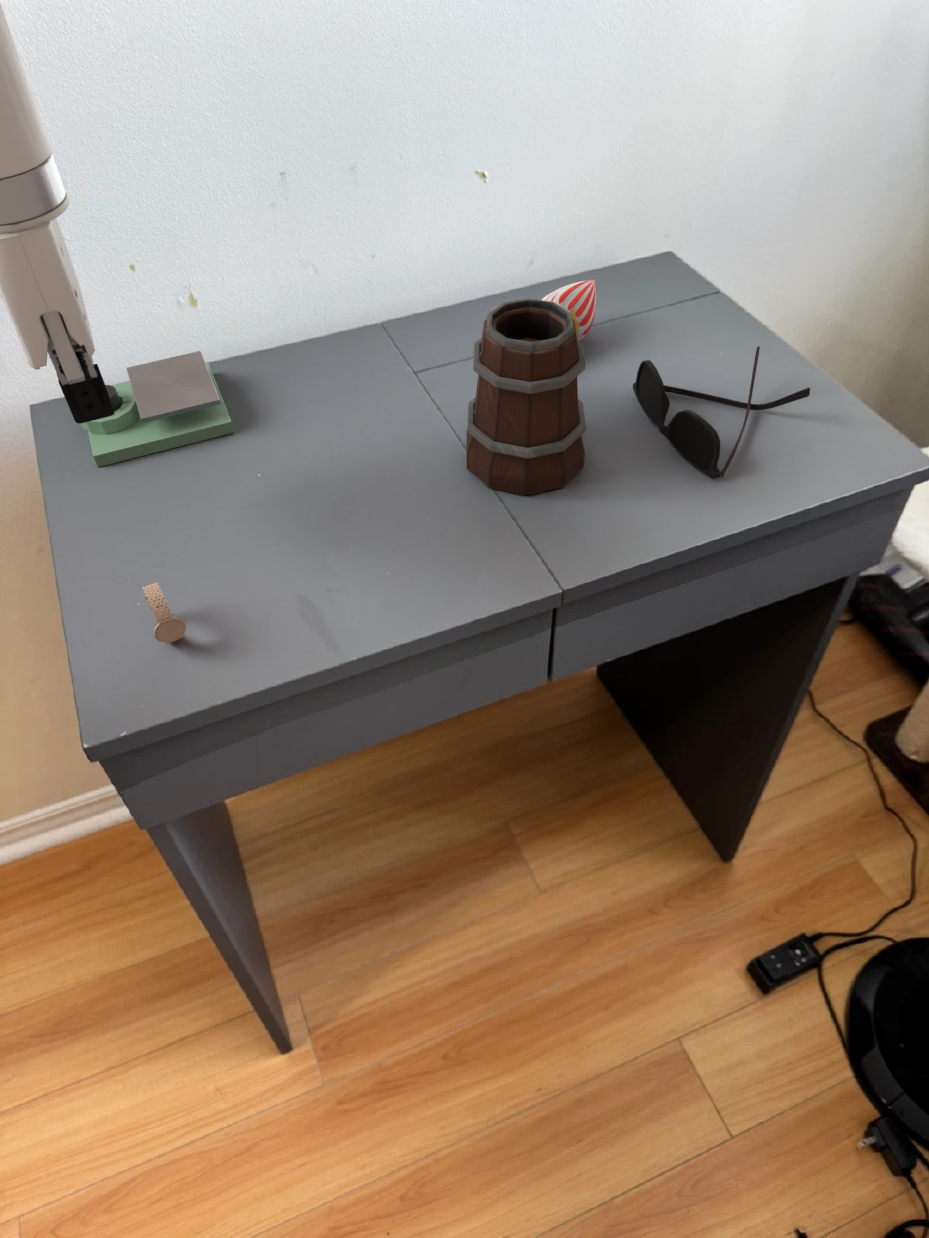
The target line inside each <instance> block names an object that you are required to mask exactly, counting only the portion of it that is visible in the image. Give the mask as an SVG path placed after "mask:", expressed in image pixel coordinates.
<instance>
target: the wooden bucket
mask: <svg viewBox="0 0 929 1238" xmlns="http://www.w3.org/2000/svg"><path fill="white" fill-rule="evenodd" d="M472 349H473V350H472V354H473V355H472V359H473V360H472V363H473V364H472V369H473V372H474V373H475V374H477V384H476V391H475V397H473V399H471V400H470V401H469V402H467V415H466V416H467V417H466V420H467V422H466V423H467V424H466V425H467V427H466V428H467V429H466V445H465V446H466V450H465V451H466V454H465V455H466V456H465V458H466V460H465V461H466V469H467V470H468V471H469V472H470V473H472V474H473V475H474V476H475V477H476V478H477V479H479V481H481V482H482V483H483V484H484V485H485V486H486V487H488V488H489V489H494V490H497V491H498V490H499V491H504V492H508V493H513V494H517V495H522V496H530V495H533V494H540V493H543V492H544V493H545V492H549V491H552V490H556V489H557V490H558V489H563V488H564V487H565V486H566V485H567V484H568V483H569V482H570V481H571V480H572V479H573V478H574V477H575V476H576V475H577V474H578V473H579V472H580V471H581V470H582V469H583V468H584V463H585V462H584V461H585V454H586V453H585V447H584V446H585V445H584V439H583V434H584V433H586V430H587V421H586V415H585V409H584V402H583V401H581V400H580V399H579V394H578V393H579V392H578V391H579V390H578V389H579V387H578V376H579V375H581V374H582V373H583V372H584V371H585V370H586V364H587V363H586V356H585V350H584V345H583V342H582V340H581V341H579V340H577V335H576V328H575V321H574V320H573V318H572V313H570V312H568V311H567V310H565V309H564V308H562V307H561V306H559V305H557V304H556V303H554V302H550V301H543V300H542V299H536V298H529V297H527V298H523V299H516V300H511V301H505V302H502V303H498V304H494V305H493V307H492V308H491V309H490V310H489V312H488V313H487V315H486V319H485V320H484V321H483V327H482V334H481V338H479V339H478V340H477V341H475V342H474V343H473V345H472Z"/></svg>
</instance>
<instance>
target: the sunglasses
mask: <svg viewBox="0 0 929 1238" xmlns="http://www.w3.org/2000/svg"><path fill="white" fill-rule="evenodd" d="M760 349H761V347H760V346H759V345H758V346H757V348H756V350H755V355H754V361H753V368H752V373H751V374H752V375H751V380H750V387H749V394H748V399H747V402H744V401H739V400H735V399H730V398H727V397H721V396H718V395H714V394H709V393H704V392H700V391H695V390H691V389H687V388H681V387H675V386H671V385H667V384H666V385H665V384H664V381H663V380H662V379H663V378H662V377H661V375H660V373H659V371H658V369H657V367H656V366H655V364H654V363H653V362H652V361H651V360H650V359H646V360H645V359H644V360H643V361H641V362H640V364H639V367H638V369H637V371H636V372H637V374H636V378H635V382H633V383H632V390H633V392H634V395H635V397H636V399H637V401H638V403H639V405H640V407H641V409H642V410H643V412H644V413H645V415H646V416H647V417H648V419H649V421H651V422H652V424H653V425H654V426H655V427H656V428H657V429H658V431H659V433H660V434H662V436H664V437H665V439H667V440H668V442H669V443H670V445H671V446H672V447H673V448H674V449H675V450H676V451H677V452H678V454H680V455H681V456H682V457H683V458H684V460H685V461H687V462H688V463H689V464H690V465H692V466H693V467H694V468H695V469H696V470H698V471H700V472H701V473H703V474H704V475H706V476H707V477H708V478H710V479H712V480H716V479H719V478H720V477H722V478H723V477H724V475H725V473H726V471H727V470H728V467H729V465H730V464H731V461H732V459H733V458H734V455H735V454H736V451H737V449H738V447H739V445H740V443H741V442H740V441H741V440H742V437H743V434H744V430H745V428H746V426H747V422H748V419H749V416H750V415H749V414H750V411H751V410H752V411H766V410H770V409H774V408H777V407H780V406H784V405H786V404H787V405H788V404H790V403H792V402H796V401H799V400H801V399H804V398H808V397H810V395H811V387H805V388H804V389H801V390H798V391H796V392H793V393H791V394H788V395H785V396H783V397H781V398H778V399H776V400H772V401H769V402H765V403H752V398H753V392H754V387H755V386H754V384H755V380H756V374H757V369H758V368H757V367H758V361H759V356H760V355H759V354H760ZM667 393H669V394H675V395H681V396H684V397H685V396H686V397H690V398H695V399H699V400H700V399H701V400H704V401H710V402H713V403H719V404H723V405H728V406H732V407H736V408H740V409H744V410H745V409H746V412H745V416H744V420H743V425H742V427H741V430H740V432H739V435H738V437H737V440H736V442H735V445H734V446H733V449H732V451H731V452H730V455H729V457H728V459H727V461H726V463H725V465H724V466H723V468H722V469H719V468H718V464H719V460H720V455H721V440H720V436H719V434H718V432H717V430H716V429H715V427H714V426H712V425H711V424H710V423H709V422H708V420H706V419H705V418H704V417H702V416H700V415H699V414H697V413H696V412H694V411H692V410H689V409H684V410H681V411H678V412H676V414H674V416H673V417H672V418H671V419H670V421H669V423H668V424H667V425H666V424H665V423H666V422H665V421H666V418H667V415H668V411H669V409H670V405H671V401H670V398H669V397H668V395H667Z"/></svg>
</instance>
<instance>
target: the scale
mask: <svg viewBox="0 0 929 1238" xmlns="http://www.w3.org/2000/svg"><path fill="white" fill-rule="evenodd" d="M205 363H206V365H207V368H208V371H209V373H210V376H211V378H212V381H213V383H214V386H215V388H216V391H217V394H218V396H219V399H220V402H221V404H220V405H215V406H211V407H207V408H203V409H199V410H195V411H191V412H187V413H183V414H179V415H175V416H171V417H167V418H163V419H158V420H154V421H150V422H146V423H142V421H141V418H140V415H139V411H138V408H137V404H136V401H135V397H134V393H133V390H132V386H131V383H130V380H129V381H124V382H119V383H116V384H115V383H114V384H110V385H111V386H113V387H114V388H115V389H116V391H117V393H118V396H119V399H120V401H121V407H120V409H118V410H116V411H115V412H114V414H113V415H112V416H109V417H105V418H101V419H97V420H93V421H89V422H85V423H81V424H80V426H81V428H82V429H83V430H85V431H87V435H88V439H89V443H90V448H91V453H92V458H93V460H94V462H95V464H96V467H97V468H99V467H105V466H107V465H112V464H115V463H120V462H125V461H127V460H131V459H134V458H139V457H143V456H147V455H150V454H155V453H158V452H162V451H166V450H171V449H175V448H179V447H182V446H185V445H186V446H187V445H190V444H195V443H199V442H202V441H206V440H210V439H214V438H219V437H222V436H226V435H230V434H233V433H235V429H234V425H233V422H232V418H231V416H230V414H229V411H228V409H227V407H226V404H225V400H224V398H223V396H222V394H221V391H220V388H219V386H218V384H217V381H216V378H215V376H214V373H213V371H212V368H211V366H210V363H209V362H205Z"/></svg>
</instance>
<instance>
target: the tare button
mask: <svg viewBox="0 0 929 1238" xmlns="http://www.w3.org/2000/svg"><path fill="white" fill-rule="evenodd" d="M111 385H112V384H105V386H106V388H107V391H108V394H109V396H110V399H111V402H112V406H113V409H114V412H115V411H116V410H118V409H120V407H121V401H120V399H119V396H118V393H117V391H116V389H115V388H114V387H113V386H111Z"/></svg>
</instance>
